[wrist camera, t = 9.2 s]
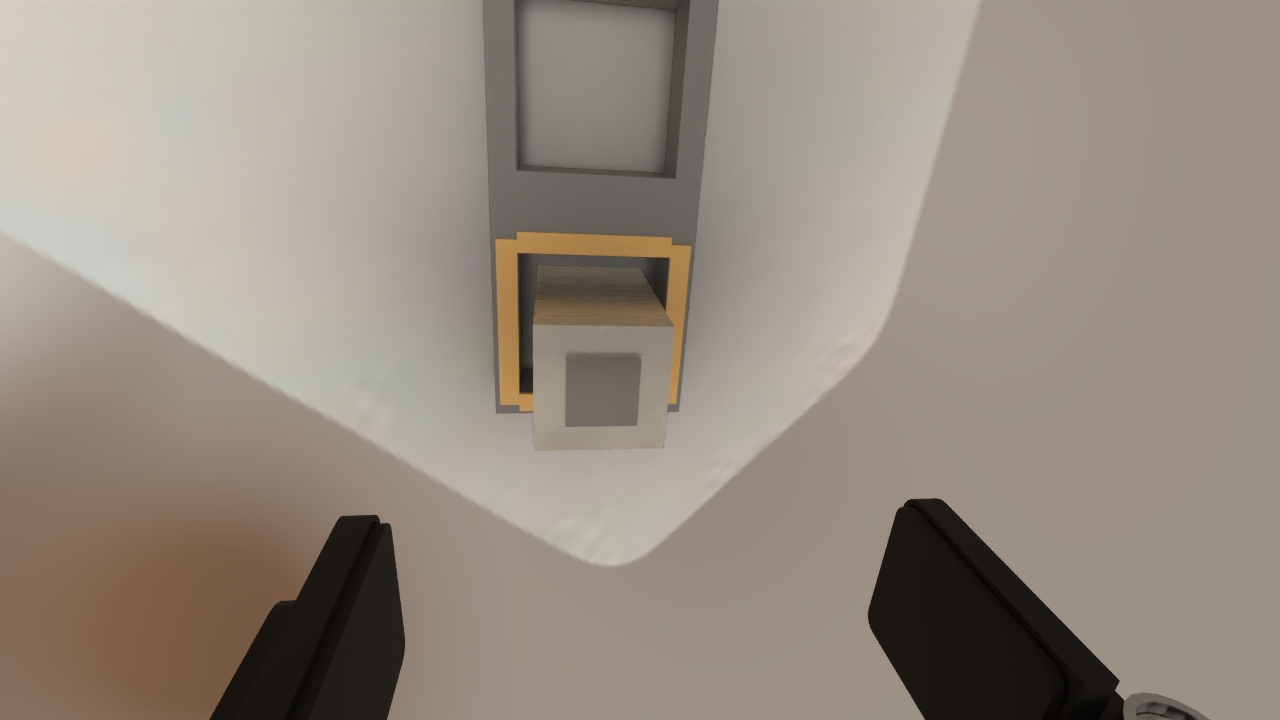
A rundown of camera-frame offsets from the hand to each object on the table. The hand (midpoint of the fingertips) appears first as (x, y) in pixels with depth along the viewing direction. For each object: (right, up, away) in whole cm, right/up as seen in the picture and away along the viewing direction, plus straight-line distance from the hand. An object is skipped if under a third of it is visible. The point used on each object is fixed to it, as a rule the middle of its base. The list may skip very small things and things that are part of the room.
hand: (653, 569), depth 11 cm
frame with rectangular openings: (-2, +10, +14) cm, 18 cm away
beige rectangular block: (-3, +6, +16) cm, 17 cm away
